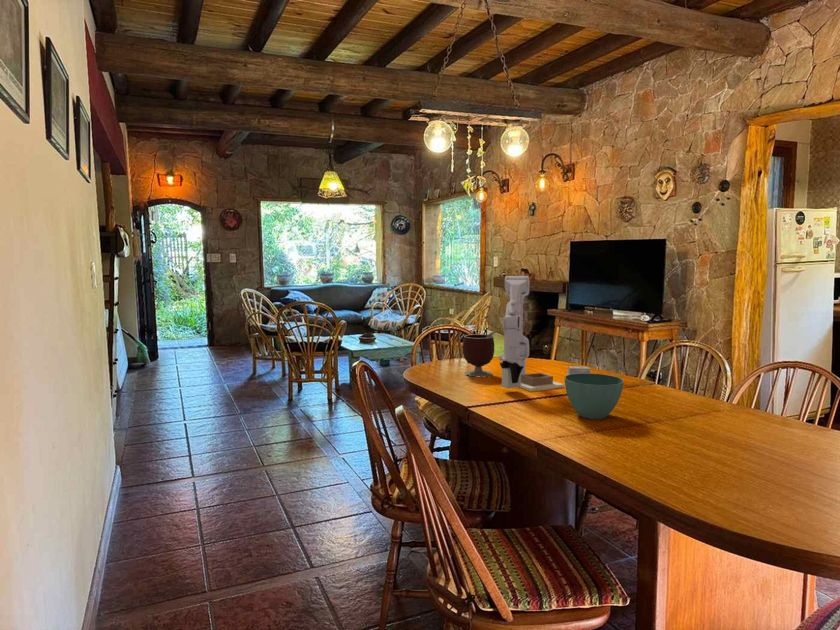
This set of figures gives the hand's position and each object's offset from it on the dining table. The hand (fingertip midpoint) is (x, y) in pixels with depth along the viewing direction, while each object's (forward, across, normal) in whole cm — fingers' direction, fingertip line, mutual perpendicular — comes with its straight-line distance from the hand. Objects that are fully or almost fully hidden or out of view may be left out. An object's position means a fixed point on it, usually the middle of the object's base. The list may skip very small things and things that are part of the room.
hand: (511, 381), depth 219 cm
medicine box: (+4, +8, +26) cm, 27 cm away
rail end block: (+2, 0, 0) cm, 2 cm away
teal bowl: (+4, +40, +4) cm, 40 cm away
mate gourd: (+4, -34, +7) cm, 35 cm away
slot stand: (+4, -4, +15) cm, 16 cm away
